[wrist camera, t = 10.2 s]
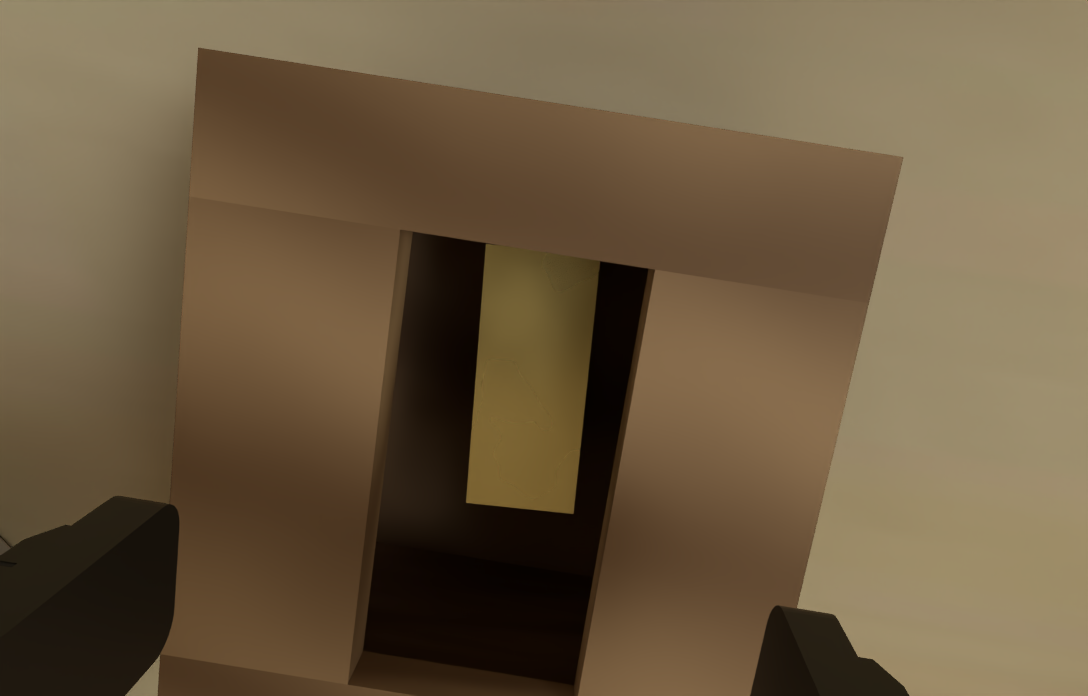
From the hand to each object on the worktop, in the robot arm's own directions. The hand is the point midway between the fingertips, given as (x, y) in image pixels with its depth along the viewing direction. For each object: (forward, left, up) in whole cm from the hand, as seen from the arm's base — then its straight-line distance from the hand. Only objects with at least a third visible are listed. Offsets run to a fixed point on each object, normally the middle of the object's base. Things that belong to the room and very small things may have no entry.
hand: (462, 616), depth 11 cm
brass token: (-1, 0, -14) cm, 14 cm away
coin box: (0, 0, -15) cm, 15 cm away
